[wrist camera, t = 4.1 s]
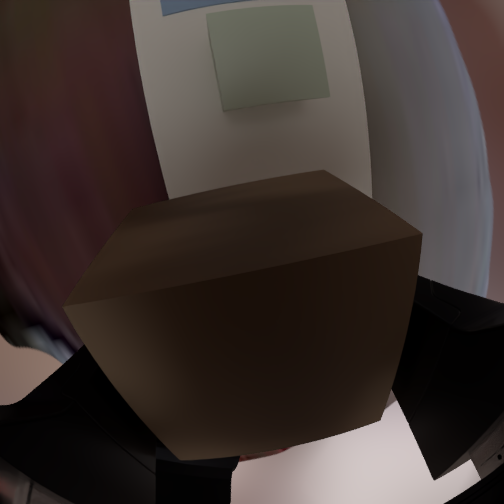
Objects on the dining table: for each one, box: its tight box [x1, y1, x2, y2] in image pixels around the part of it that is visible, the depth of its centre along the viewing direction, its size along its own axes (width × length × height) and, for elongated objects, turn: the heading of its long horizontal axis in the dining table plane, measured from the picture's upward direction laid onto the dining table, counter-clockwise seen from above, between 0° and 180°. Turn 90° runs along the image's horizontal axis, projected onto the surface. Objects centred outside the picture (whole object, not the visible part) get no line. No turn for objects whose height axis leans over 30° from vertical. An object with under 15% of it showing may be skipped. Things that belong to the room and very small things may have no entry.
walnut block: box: [62, 170, 423, 460], centre depth 8 cm, size 6×6×5 cm
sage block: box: [206, 5, 330, 112], centre depth 13 cm, size 5×5×5 cm
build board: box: [129, 0, 372, 199], centre depth 15 cm, size 14×27×1 cm, turn 10°
